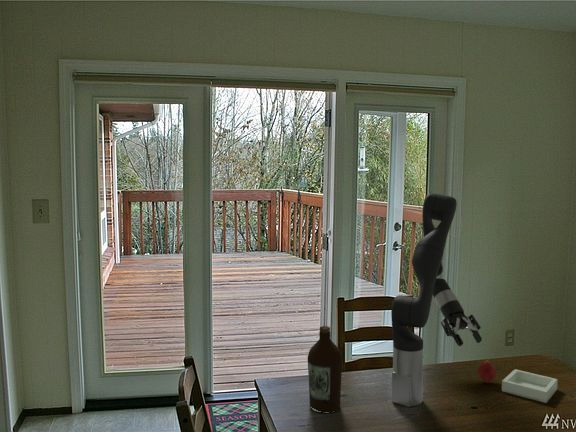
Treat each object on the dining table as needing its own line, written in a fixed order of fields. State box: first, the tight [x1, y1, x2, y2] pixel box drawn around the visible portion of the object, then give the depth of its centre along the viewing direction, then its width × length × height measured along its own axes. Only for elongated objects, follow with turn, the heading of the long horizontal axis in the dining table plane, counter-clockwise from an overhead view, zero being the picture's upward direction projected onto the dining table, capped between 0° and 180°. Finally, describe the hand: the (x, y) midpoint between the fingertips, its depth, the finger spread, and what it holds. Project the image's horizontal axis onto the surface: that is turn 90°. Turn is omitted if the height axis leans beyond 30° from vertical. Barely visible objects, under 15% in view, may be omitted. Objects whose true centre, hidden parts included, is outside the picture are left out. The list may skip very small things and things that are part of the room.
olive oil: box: [307, 325, 343, 413], centre depth 151 cm, size 11×11×25 cm
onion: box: [477, 359, 497, 384], centre depth 169 cm, size 6×6×8 cm
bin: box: [501, 368, 558, 404], centre depth 163 cm, size 13×13×4 cm
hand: (470, 343), depth 175 cm, fingers open, 8 cm apart
